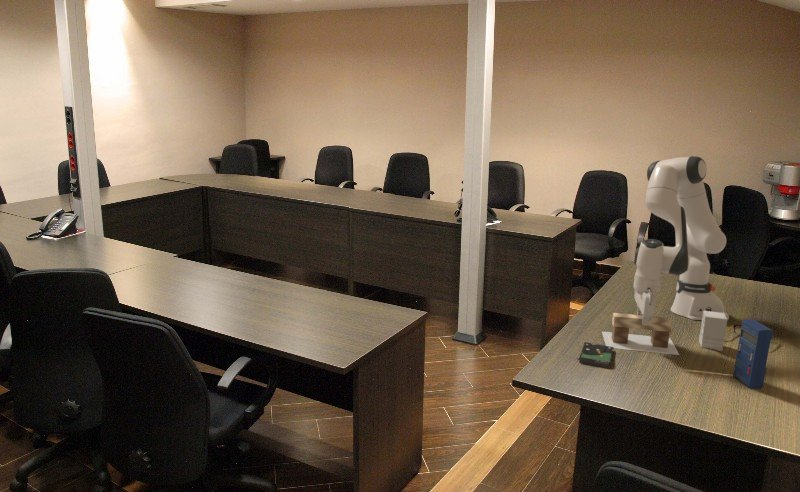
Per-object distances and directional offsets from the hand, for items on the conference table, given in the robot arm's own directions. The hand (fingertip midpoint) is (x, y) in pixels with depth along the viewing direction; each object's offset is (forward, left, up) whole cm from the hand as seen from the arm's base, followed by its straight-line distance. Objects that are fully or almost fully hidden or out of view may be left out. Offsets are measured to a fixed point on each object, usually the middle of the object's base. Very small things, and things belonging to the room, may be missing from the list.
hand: (642, 320), depth 232 cm
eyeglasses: (-41, -14, -10) cm, 45 cm away
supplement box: (-26, -5, -10) cm, 28 cm away
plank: (0, 0, -3) cm, 3 cm away
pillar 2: (-7, 0, -9) cm, 11 cm away
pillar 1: (+7, 0, -9) cm, 11 cm away
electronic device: (-30, +24, -10) cm, 40 cm away
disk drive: (+17, +17, -10) cm, 26 cm away
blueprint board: (0, 0, -9) cm, 9 cm away
